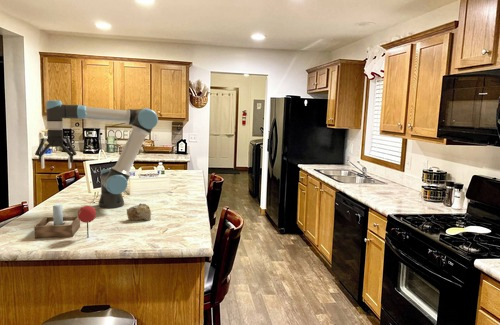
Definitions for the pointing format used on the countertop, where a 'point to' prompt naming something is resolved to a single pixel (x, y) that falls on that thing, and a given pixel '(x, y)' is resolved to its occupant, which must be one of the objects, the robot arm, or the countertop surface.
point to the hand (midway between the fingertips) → (56, 168)
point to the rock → (139, 212)
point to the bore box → (57, 228)
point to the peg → (58, 215)
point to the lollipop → (87, 215)
